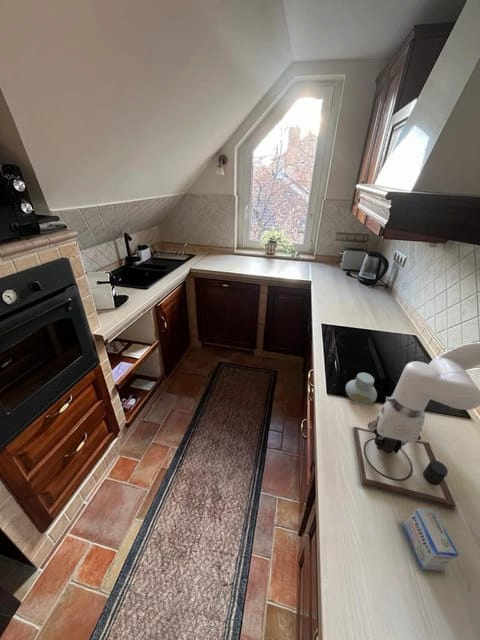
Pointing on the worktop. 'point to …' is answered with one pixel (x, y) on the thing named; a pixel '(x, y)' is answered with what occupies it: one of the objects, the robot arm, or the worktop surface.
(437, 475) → the cylinder
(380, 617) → the worktop surface
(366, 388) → the air freshener
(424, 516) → the medicine box
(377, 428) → the robot arm
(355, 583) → the worktop surface
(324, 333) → the worktop surface
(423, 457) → the sketch board
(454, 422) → the worktop surface
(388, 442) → the cylinder
